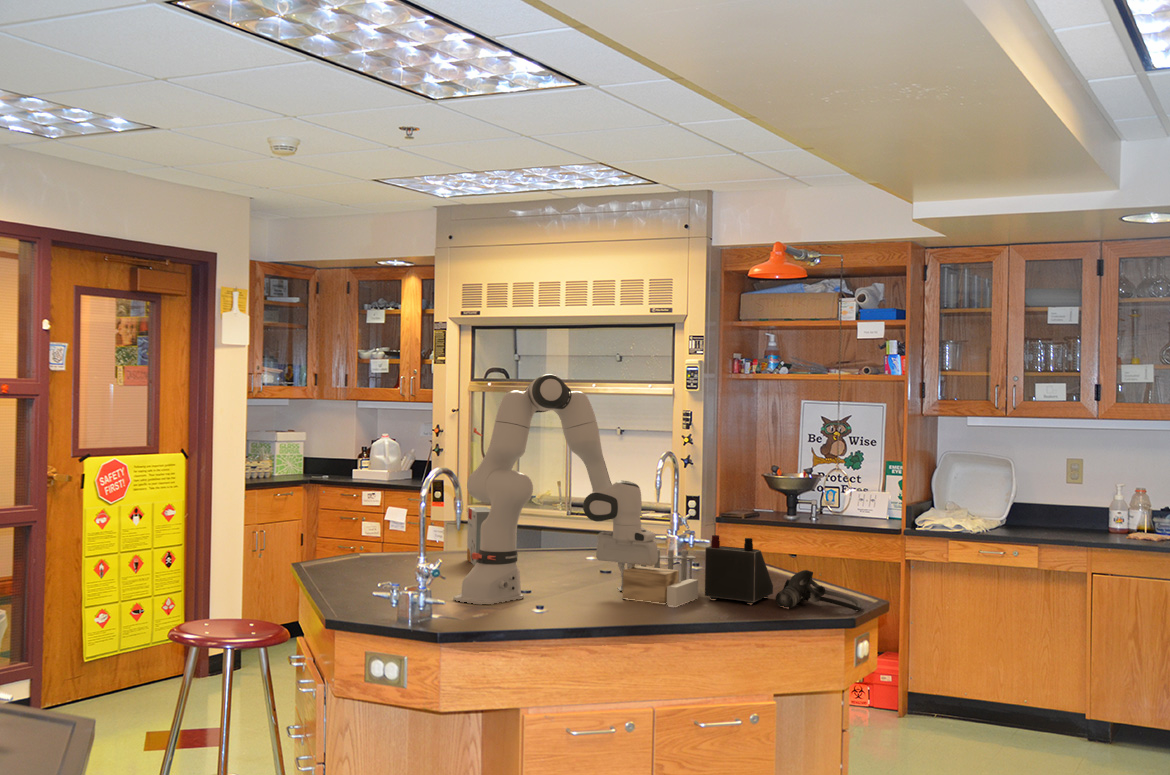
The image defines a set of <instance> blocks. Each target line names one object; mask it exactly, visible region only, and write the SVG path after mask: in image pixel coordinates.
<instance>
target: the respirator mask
mask: <svg viewBox="0 0 1170 775" xmlns="http://www.w3.org/2000/svg"><path fill="white" fill-rule="evenodd" d="M813 577H814V572H813V571H810V570H808V569H805V570H800V571H798V572H796V573H795V574H793V575H792V576H791V577H790V579H788V578H787V579H786V581H785V583H784V586H783V589H781V590H780V591H778V592H777V593H776V595H775V602H776V604H777V606H778V607H779V606H784V607H789V608H791V609H793V607H794V606H796V605H797V604H798V603H805V601H806V602H809V600H811V601H812V602H814V603H819V602H824V603H829V604H833V605H837V606H841V607H845V608H848V609H851V610H852V611H853V610H854V611H856V610H859V611H860V610H861V608H862V605H861V603H860V601H859V600H858V599H856V598H854V597H852V596H851V595H847V594H844V593H840V592H835V591H832V590H828V589H826V587H825V586H823V585H819V584H818V583H817V582H816V581H815V580H813ZM824 595H827V596H830V597H831V596H832V597H836V598H839V599H843V600H846V601H848V602H852V603H853V604H852V603H848V602H846V601H842V600H837V599H833V598H830V597H825V596H824ZM854 604H855V605H854Z"/></svg>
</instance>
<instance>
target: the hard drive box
mask: <svg viewBox="0 0 1170 775" xmlns="http://www.w3.org/2000/svg"><path fill="white" fill-rule="evenodd" d="M489 512H490V507H487V506H472V507H471V506H469V507H467V541H466V542H467V546H466V548H467V549H466V554H467V555H466V560H467V561H468V562H470V563H471V564H472V565H473V567H474V566H475V565H476V563H477V561H476V560H477V559H472V556H473V555H472V553H478V552H479V550H480V542H481V524H482V522H483V521H484V520H485V519H487V517H488V515H489Z"/></svg>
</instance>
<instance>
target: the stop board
mask: <svg viewBox="0 0 1170 775" xmlns="http://www.w3.org/2000/svg"><path fill="white" fill-rule="evenodd" d="M698 593H699V579H694V578H692V579H689V578H686V580H684V581H681V580H680V581H679V582H678V583H675V584H673V585H670V586H667V604H666V606H667V605H673V606H677V605H680V604H682V603H685V602H688V601H691V600H693V599H696V598H698V599H699V594H698Z"/></svg>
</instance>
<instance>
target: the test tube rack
mask: <svg viewBox="0 0 1170 775" xmlns="http://www.w3.org/2000/svg"><path fill="white" fill-rule="evenodd" d="M657 550H658V562H657V563H656V564H655V565H653V566H654V567H653V568H661V564H660V563H661V560H667V569H670V570H674V560H681V563H680V564H681V567H680V572H681V573H680V582H681V581H684V580H687V577H688V576H689V577H688V579H693V561H694V560H697V557H696V556H694V555H688V550H687V549H681V551H680V553H681V555H674V549H668V551H667V552H668V553H667V555H661V549H657ZM687 561H689V566H688V563H687ZM626 564H627V565H626V566H627V567H626V568H627V569H629V567H628V563H626ZM640 566H642V567H647V565H640ZM687 566H688V567H689V568H687ZM687 569H689V574H688V576H687V573H688V572H687V571H688V570H687ZM617 589H618V590H619V591H623V577H621V585H620V587H617ZM618 590H617V591H618ZM619 591H618V592H619Z"/></svg>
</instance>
